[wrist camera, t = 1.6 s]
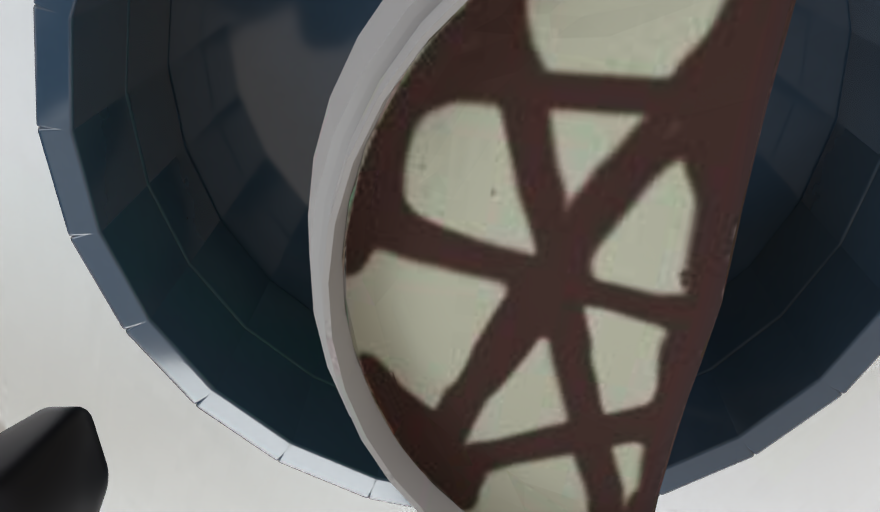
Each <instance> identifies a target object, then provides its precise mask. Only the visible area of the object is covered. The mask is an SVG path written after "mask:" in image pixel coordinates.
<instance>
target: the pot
mask: <svg viewBox="0 0 880 512" xmlns="http://www.w3.org/2000/svg"><path fill="white" fill-rule="evenodd" d="M382 1H383V0H34V3H35V5H34V8H33V9H34V46H35V82H36V119H37V126H39V128H38V133H39V136H40V139H41V143H42V146H43V149H44V153H45V156H46V160H47V163H48V166H49V170H50V173H51V177H52V180H53V183H54V187H55V190H56V194H57V197H58V200H59V204H60V207H61V211H62V214H63V217H64V221H65V224H66V227H67V231H68V234H69V235H70V236H72V237H71V241H72V243H73V244H74V246H75V248H76V249H77V251H78V253H79V255H80V256H81V258H82V260H83V261H84V263H85V265H86V267H87V268H88V270H89V272H90V273H91V275H92V277H93V278H94V280H95V282H96V284H97V285H98V287H99V289H100V290H101V292H102V294H103V295H104V297H105V299H106V301H107V302H108V304H109V306H110V307H111V309H112V311H113V313H114V314H115V316H116V318H117V319H118V321H119V323H120V324H121V326H122V328H123V329H126V332H127V334H128V335H129V336H130V337H131V338H132V339H133V340H134V341H135V342H136V343H137V344H138V346H139V347H140V348H141V349H142V350H143V351H144V352H145V353H146V354H147V355H148V356H149V357H150V358H151V359H152V360H153V361H154V362H155V363H156V364H157V366H158V367H159V368H160V369H161V370H162V371H163V372H164V373H165V374H166V375H167V376H168V377H169V378H170V379H171V380H172V381H173V382H174V383H175V384H176V385H177V387H178V388H179V389H180V390H181V391H182V392H183V393H184V394H185V395H186V396H187V397H188V398H189V399H190V400H191V401H192V402H193V403H197V404H196V406H197V407H198V408H199V409H201V410H202V411H204V412H205V413H207V414H208V415H210V416H211V417H213V418H214V419H216V420H217V421H219V422H220V423H222V424H223V425H225V426H226V427H227V428H229V429H230V430H232V431H233V432H235V433H236V434H238V435H239V436H241V437H242V438H244V439H245V440H247V441H248V442H250V443H251V444H253V445H254V446H256V447H257V448H259V449H260V450H262V451H263V452H264V453H266V454H267V455H269V456H270V457H272V458H273V459H275V460H278V461H279V462H280V463H282V464H285V465H287V466H290V467H292V468H294V469H297V470H299V471H302V472H304V473H307V474H309V475H312V476H314V477H316V478H319V479H321V480H324V481H326V482H329V483H331V484H334V485H336V486H338V487H341V488H343V489H346V490H348V491H351V492H353V493H356V494H358V495H360V496H363V497H365V498H368V497H369V498H370V499H373V500H378V501H383V502H388V503H394V504H399V505H404V506H409V507H413V506H412V505H411V504H410V503H409V502H408V501H407V500H406V499H405V497H404V496H403V495H402V494H401V493H400V492H399V491H398V490H397V489H396V488H395V487H394V486H393V485H392V484H391V483H390V481H389V480H388V479H387V477H386V476H385V474H384V473H383V471H382V470H381V468H380V467H379V465H378V464H377V462H376V461H375V459H374V458H373V456H372V455H371V453H370V452H369V451H368V449H367V448H366V446H365V445H364V443H363V442H362V440H361V438H360V436H359V434H358V432H357V430H356V427H355V425H354V423H353V421H352V419H351V417H350V416H349V414H348V412H347V409H346V407H345V405H344V403H343V400H342V398H341V396H340V394H339V392H338V389H337V387H336V385H335V383H334V380H333V378H332V376H331V374H330V372H329V369H328V367H327V364H326V360H325V356H324V352H323V348H322V344H321V340H320V336H319V332H318V328H317V324H316V321H315V317H314V310H313V296H312V283H311V269H310V254H309V229H308V211H309V200H310V189H311V179H312V168H313V157H314V154H315V150H316V146H317V143H318V139H319V135H320V132H321V128H322V124H323V121H324V117H325V113H326V110H327V106H328V102H329V99H330V96H331V94H332V92H333V89H334V87H335V85H336V83H337V81H338V79H339V76H340V74H341V72H342V70H343V68H344V66H345V63H346V61H347V59H348V57H349V55H350V53H351V50H352V48H353V46H354V44H355V42H356V40H357V37H358V36H359V34H360V33H361V31H362V30H363V28H364V27H365V26H366V24H367V23H368V21H369V20H370V18H371V17H372V15H373V14H374V12H375V11H376V9H377V8H378V6H379V5H380V3H381V2H382ZM879 356H880V0H796V3H795V6H794V10H793V14H792V17H791V21H790V25H789V28H788V32H787V36H786V39H785V43H784V47H783V50H782V54H781V58H780V61H779V65H778V69H777V72H776V76H775V79H774V83H773V87H772V90H771V94H770V98H769V101H768V105H767V109H766V113H765V117H764V121H763V125H762V129H761V133H760V138H759V142H758V146H757V150H756V154H755V158H754V163H753V167H752V171H751V175H750V179H749V183H748V188H747V192H746V196H745V200H744V204H743V208H742V213H741V218H740V223H739V228H738V233H737V237H736V242H735V247H734V251H733V256H732V260H731V264H730V269H729V273H728V278H727V282H726V286H725V291H724V295H723V300H722V303H721V306H720V310H719V313H718V316H717V318H716V321H715V324H714V327H713V330H712V333H711V336H710V339H709V342H708V345H707V347H706V350H705V353H704V356H703V359H702V362H701V365H700V367H699V370H698V373H697V375H696V378H695V381H694V383H693V386H692V389H691V391H690V394H689V397H688V400H687V403H686V406H685V409H684V412H683V416H682V419H681V422H680V425H679V428H678V431H677V434H676V437H675V440H674V444H673V447H672V451H671V454H670V458H669V461H668V464H667V468H666V471H665V475H664V478H663V482H662V485H661V488H660V492H659V495H664V494H666V493H669V492H671V491H673V490H676V489H678V488H680V487H683V486H685V485H687V484H690V483H692V482H695V481H697V480H699V479H702V478H704V477H706V476H709V475H711V474H713V473H716V472H718V471H721V470H723V469H725V468H728V467H730V466H732V465H735V464H737V463H739V462H742V461H744V460H747V459H749V458H751V457H753V456H754V454H758V453H760V452H761V451H763V450H764V449H766V448H767V447H768V446H770V445H771V444H773V443H774V442H776V441H777V440H778V439H780V438H781V437H783V436H784V435H786V434H787V433H789V432H790V431H791V430H793V429H794V428H796V427H797V426H799V425H800V424H802V423H803V422H804V421H806V420H807V419H809V418H810V417H812V416H813V415H815V414H816V413H817V412H819V411H820V410H822V409H823V408H825V407H826V406H827V405H829V404H830V403H832V402H833V401H835V400H836V399H838V398H839V397H840V396H841V395H842V393H846V392H847V390H848V389H849V388H850V387H851V386H852V385H853V384H854V383H855V382H856V381H857V380H858V379H859V378H860V376H861V375H862V374H863V373H864V372H865V371H866V370H867V369H868V368H869V367H870V366H871V365H872V363H873V362H874V361H875V360H876V359H877V358H878V357H879Z"/></svg>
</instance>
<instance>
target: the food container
mask: <svg viewBox="0 0 880 512" xmlns="http://www.w3.org/2000/svg"><path fill="white" fill-rule="evenodd" d="M795 3H796V0H383V1H382V2H381V3H380V5H379V6H378V8H377V9H376V11H375V12H374V14H373V15H372V17H371V18H370V20H369V21H368V23H367V24H366V26H365V27H364V28H363V30H362V31H361V33H360V34H359V36H358V37H357V40H356V42H355V44H354V46H353V48H352V50H351V53H350V55H349V57H348V59H347V61H346V63H345V66H344V68H343V70H342V72H341V74H340V76H339V79H338V81H337V83H336V85H335V87H334V89H333V92H332V94H331V96H330V99H329V102H328V106H327V110H326V113H325V117H324V121H323V124H322V128H321V132H320V135H319V139H318V143H317V146H316V150H315V154H314V157H313V168H312V179H311V189H310V200H309V211H308V229H309V254H310V269H311V283H312V296H313V310H314V317H315V321H316V324H317V328H318V332H319V336H320V340H321V344H322V348H323V352H324V356H325V360H326V364H327V367H328V369H329V372H330V374H331V376H332V378H333V380H334V383H335V385H336V387H337V389H338V392H339V394H340V396H341V398H342V400H343V403H344V405H345V407H346V409H347V412H348V414H349V416H350V417H351V419H352V421H353V423H354V425H355V427H356V430H357V432H358V434H359V436H360V438H361V440H362V442H363V443H364V445H365V446H366V448H367V449H368V451H369V452H370V453H371V455H372V456H373V458H374V459H375V461H376V462H377V464H378V465H379V467H380V468H381V470H382V471H383V473H384V474H385V476H386V477H387V479H388V480H389V481H390V483H391V484H392V485H393V486H394V487H395V488H396V489H397V490H398V491H399V492H400V493H401V494H402V495H403V496H404V497H405V499H406V500H407V501H408V502H409V503H410V504H411V505H412V506H413V507H414V508H415V509H416V510H417V511H418V512H655V509H656V505H657V500H658V496H659V492H660V488H661V485H662V482H663V478H664V475H665V471H666V468H667V464H668V461H669V458H670V454H671V451H672V447H673V444H674V440H675V437H676V434H677V431H678V428H679V425H680V422H681V419H682V416H683V412H684V409H685V406H686V403H687V400H688V397H689V394H690V391H691V389H692V386H693V383H694V381H695V378H696V375H697V373H698V370H699V367H700V365H701V362H702V359H703V356H704V353H705V350H706V347H707V345H708V342H709V339H710V336H711V333H712V330H713V327H714V324H715V321H716V318H717V316H718V313H719V310H720V306H721V303H722V300H723V295H724V291H725V286H726V282H727V278H728V273H729V269H730V264H731V260H732V256H733V251H734V247H735V242H736V237H737V233H738V228H739V223H740V218H741V213H742V208H743V204H744V200H745V196H746V192H747V188H748V183H749V179H750V175H751V171H752V167H753V163H754V158H755V154H756V150H757V146H758V142H759V138H760V133H761V129H762V125H763V121H764V117H765V113H766V109H767V105H768V101H769V98H770V94H771V90H772V87H773V83H774V79H775V76H776V72H777V69H778V65H779V61H780V58H781V54H782V50H783V47H784V43H785V39H786V36H787V32H788V28H789V25H790V21H791V17H792V14H793V10H794V6H795Z"/></svg>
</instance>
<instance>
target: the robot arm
mask: <svg viewBox="0 0 880 512" xmlns="http://www.w3.org/2000/svg"><path fill="white" fill-rule="evenodd" d="M107 485H108V467H107V463H106V460H105V456H104V453H103V450H102V447H101V444H100V440H99V437H98V434H97V431H96V428H95V425H94V421H93V419H92V416H91V414H90V413H89V412H88V411H87V410H86V409H84V408H82V407H48V408H44V409H42V410H40V411H38V412H36V413H34V414H33V415H31V416H29V417H27V418H26V419H24V420H22V421H20V422H19V423H17V424H15V425H13V426H12V427H10V428H8V429H6V430H5V431H3V432H1V433H0V512H99V511H100V508H101V505H102V502H103V499H104V496H105V493H106V490H107Z"/></svg>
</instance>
